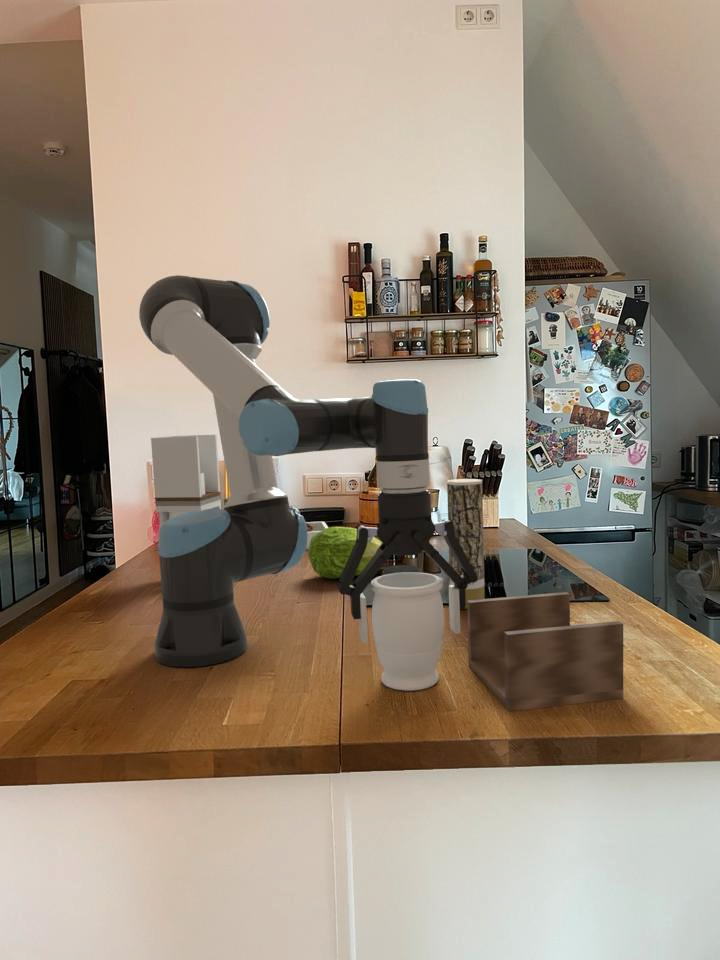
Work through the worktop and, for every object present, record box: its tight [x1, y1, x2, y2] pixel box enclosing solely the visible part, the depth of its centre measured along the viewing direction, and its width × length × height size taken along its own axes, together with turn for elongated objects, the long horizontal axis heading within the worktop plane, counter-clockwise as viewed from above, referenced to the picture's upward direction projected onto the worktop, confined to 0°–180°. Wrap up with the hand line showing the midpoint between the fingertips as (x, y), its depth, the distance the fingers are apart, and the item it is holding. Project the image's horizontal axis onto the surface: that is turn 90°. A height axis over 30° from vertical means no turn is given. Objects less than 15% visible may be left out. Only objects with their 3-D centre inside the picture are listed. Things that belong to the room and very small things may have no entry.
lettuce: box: [307, 526, 382, 580], centre depth 166 cm, size 13×22×14 cm
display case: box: [150, 434, 222, 588], centre depth 163 cm, size 11×11×35 cm
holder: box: [466, 591, 624, 712], centre depth 98 cm, size 16×16×10 cm
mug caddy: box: [305, 520, 329, 551], centre depth 207 cm, size 16×18×5 cm
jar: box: [370, 572, 445, 692], centre depth 99 cm, size 11×10×15 cm
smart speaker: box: [381, 564, 422, 576], centre depth 154 cm, size 9×9×4 cm
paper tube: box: [446, 478, 486, 610], centre depth 135 cm, size 7×7×25 cm
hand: (409, 635), depth 99 cm, fingers open, 13 cm apart
